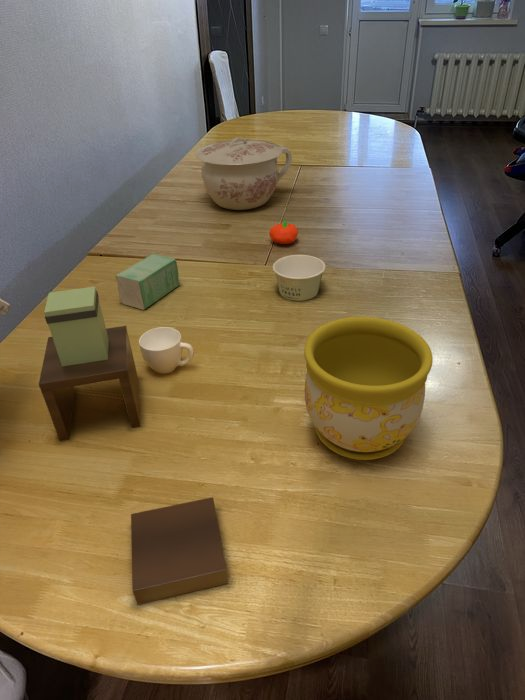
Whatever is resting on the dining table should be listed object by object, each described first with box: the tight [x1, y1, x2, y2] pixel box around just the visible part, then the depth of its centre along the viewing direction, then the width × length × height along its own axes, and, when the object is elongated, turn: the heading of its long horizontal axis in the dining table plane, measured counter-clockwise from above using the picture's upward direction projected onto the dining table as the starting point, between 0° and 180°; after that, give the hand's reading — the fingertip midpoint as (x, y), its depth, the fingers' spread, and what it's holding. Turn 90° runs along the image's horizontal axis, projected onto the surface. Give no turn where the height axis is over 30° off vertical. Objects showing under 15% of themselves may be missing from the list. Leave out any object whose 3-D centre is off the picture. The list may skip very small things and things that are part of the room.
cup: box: [138, 326, 195, 375], centre depth 97 cm, size 8×10×7 cm
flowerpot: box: [303, 316, 434, 461], centre depth 78 cm, size 18×18×16 cm
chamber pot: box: [194, 137, 293, 211], centre depth 165 cm, size 28×28×21 cm
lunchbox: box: [43, 286, 109, 367], centre depth 80 cm, size 6×7×10 cm
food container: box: [272, 254, 326, 302], centre depth 120 cm, size 12×12×6 cm
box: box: [115, 253, 180, 311], centre depth 121 cm, size 7×14×8 cm, turn 150°
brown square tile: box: [130, 496, 229, 605], centre depth 66 cm, size 11×11×3 cm
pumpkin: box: [268, 220, 299, 245], centre depth 142 cm, size 7×8×6 cm
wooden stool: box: [38, 325, 141, 442], centre depth 87 cm, size 13×13×12 cm
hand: (2, 326), depth 77 cm, fingers open, 8 cm apart
